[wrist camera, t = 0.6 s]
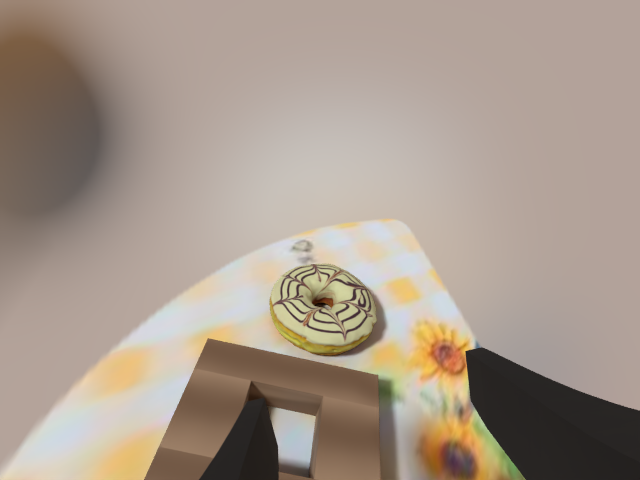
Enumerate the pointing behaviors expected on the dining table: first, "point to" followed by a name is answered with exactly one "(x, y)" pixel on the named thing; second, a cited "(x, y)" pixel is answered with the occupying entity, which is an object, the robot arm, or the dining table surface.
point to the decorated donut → (322, 309)
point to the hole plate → (279, 391)
